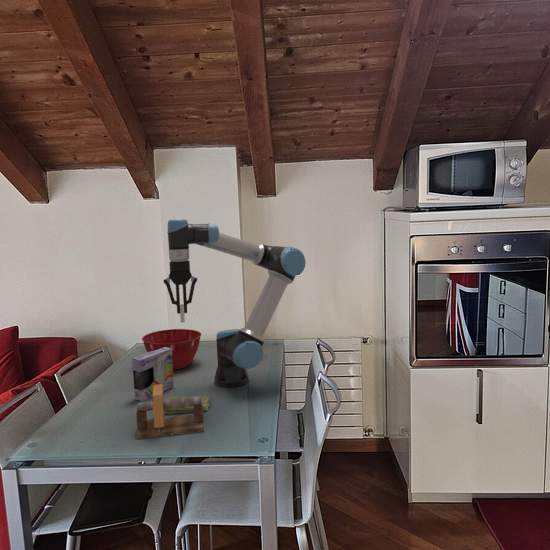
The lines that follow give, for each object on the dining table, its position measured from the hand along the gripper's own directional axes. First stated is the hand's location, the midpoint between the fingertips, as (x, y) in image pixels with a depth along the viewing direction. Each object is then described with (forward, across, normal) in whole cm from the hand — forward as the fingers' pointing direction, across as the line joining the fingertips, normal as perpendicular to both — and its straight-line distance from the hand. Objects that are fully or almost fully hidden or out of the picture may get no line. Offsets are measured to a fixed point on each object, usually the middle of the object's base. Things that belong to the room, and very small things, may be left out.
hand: (182, 321), depth 186 cm
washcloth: (+33, 0, -4) cm, 33 cm away
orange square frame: (+29, -10, -22) cm, 38 cm away
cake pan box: (+33, -13, +14) cm, 38 cm away
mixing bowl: (+33, -5, +52) cm, 62 cm away
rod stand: (+32, -6, -22) cm, 40 cm away
